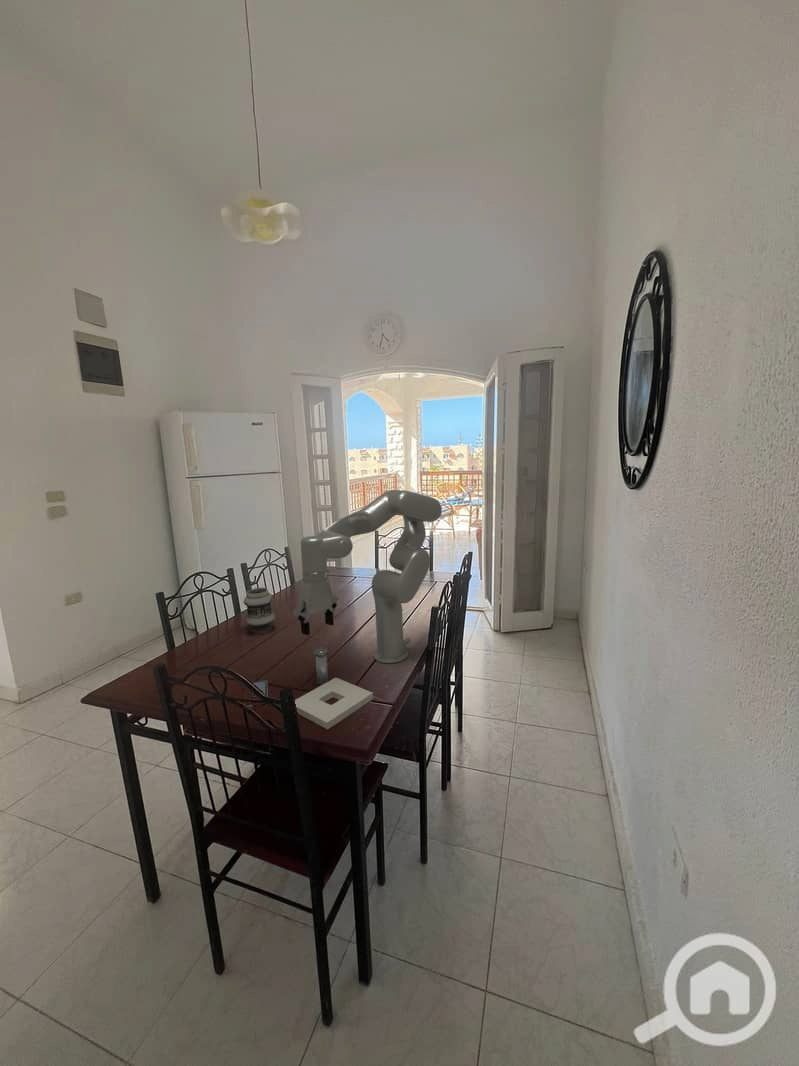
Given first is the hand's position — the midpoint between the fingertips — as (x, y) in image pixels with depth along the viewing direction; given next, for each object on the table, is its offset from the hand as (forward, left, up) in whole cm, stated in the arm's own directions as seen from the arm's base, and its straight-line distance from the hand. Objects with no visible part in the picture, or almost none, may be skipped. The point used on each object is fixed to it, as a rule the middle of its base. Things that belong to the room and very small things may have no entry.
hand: (317, 629), depth 135 cm
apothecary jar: (-14, -55, -18) cm, 60 cm away
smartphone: (+17, -12, -19) cm, 28 cm away
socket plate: (+7, +12, -18) cm, 23 cm away
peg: (0, 0, -18) cm, 18 cm away
